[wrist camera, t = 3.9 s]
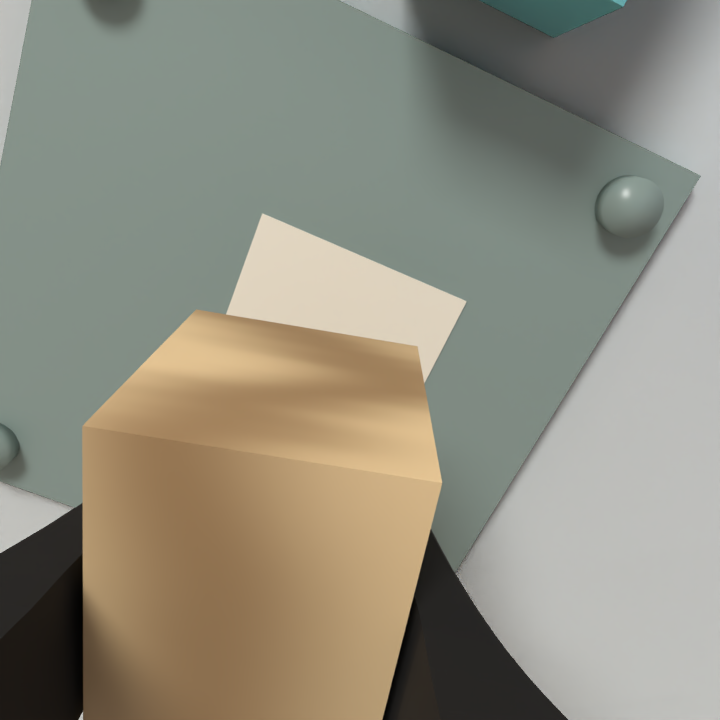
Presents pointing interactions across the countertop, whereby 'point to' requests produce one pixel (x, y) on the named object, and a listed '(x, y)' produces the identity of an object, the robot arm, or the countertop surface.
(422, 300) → the baseplate
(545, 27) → the teal brick
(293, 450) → the honey-wood brick
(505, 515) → the countertop surface
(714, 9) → the countertop surface
